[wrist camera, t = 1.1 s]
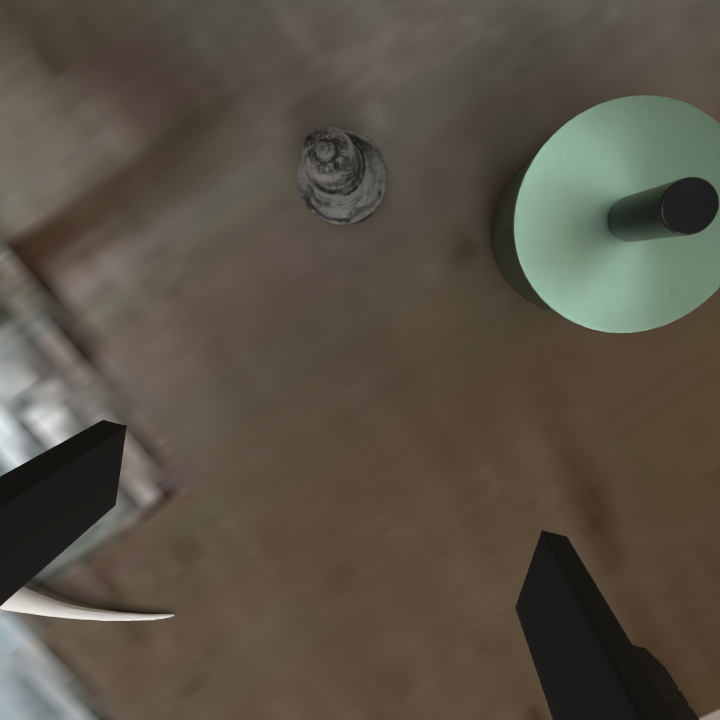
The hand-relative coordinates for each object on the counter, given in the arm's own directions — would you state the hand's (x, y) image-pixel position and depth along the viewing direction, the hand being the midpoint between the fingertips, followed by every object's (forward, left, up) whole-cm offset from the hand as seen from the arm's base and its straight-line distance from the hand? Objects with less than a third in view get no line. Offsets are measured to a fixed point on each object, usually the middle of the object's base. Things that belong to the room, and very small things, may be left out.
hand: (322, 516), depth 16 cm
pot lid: (-10, +14, -15) cm, 23 cm away
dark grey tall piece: (-13, -2, -24) cm, 27 cm away
